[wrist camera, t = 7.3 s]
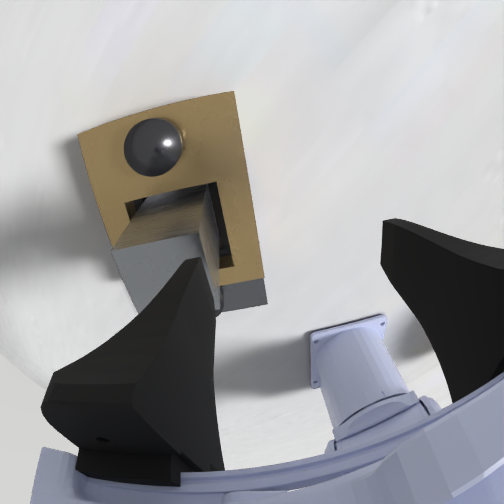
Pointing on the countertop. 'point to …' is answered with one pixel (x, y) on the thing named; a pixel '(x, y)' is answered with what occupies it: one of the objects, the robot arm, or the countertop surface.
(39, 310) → the countertop surface
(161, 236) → the grey metal block
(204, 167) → the brass plate with knob
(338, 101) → the countertop surface
